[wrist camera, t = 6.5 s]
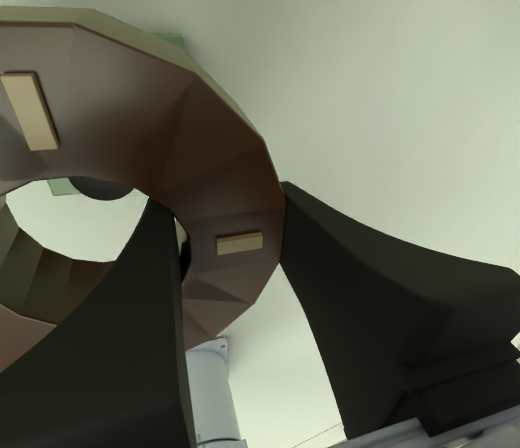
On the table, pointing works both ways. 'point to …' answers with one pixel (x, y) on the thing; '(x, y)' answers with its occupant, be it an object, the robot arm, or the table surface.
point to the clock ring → (128, 166)
